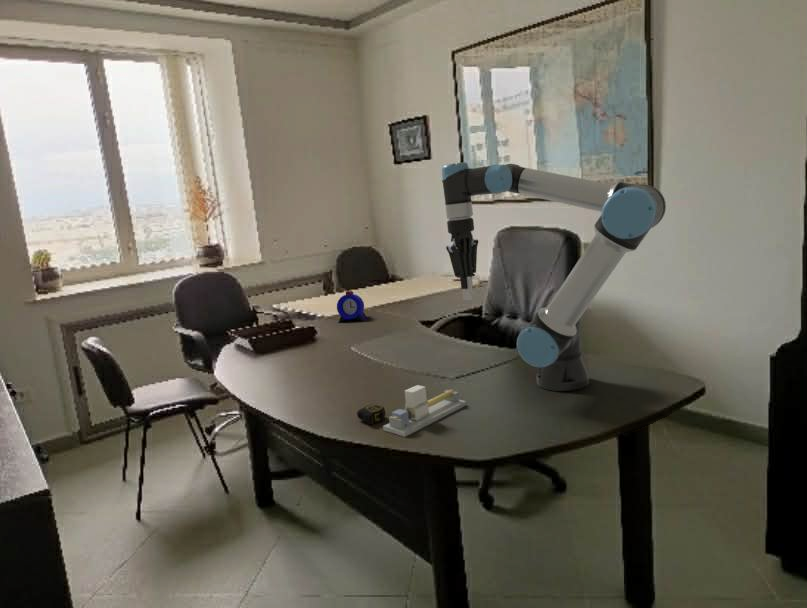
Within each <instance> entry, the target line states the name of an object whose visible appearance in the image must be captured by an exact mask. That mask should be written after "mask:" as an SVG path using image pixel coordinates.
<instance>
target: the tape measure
mask: <svg viewBox="0 0 807 608" xmlns="http://www.w3.org/2000/svg"><path fill="white" fill-rule="evenodd" d="M356 414H357V415H356V416H357V418H358V419H359V420H362V421H364V422H366V423H367V424H370V425H373V424H374V423H378V422H381V421H383V420H385V417H386V410H385V408H384V405H381V404H378V403H374V404H368V405H365V406H364V407H362V408H359V410H358V411H356Z"/></svg>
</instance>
